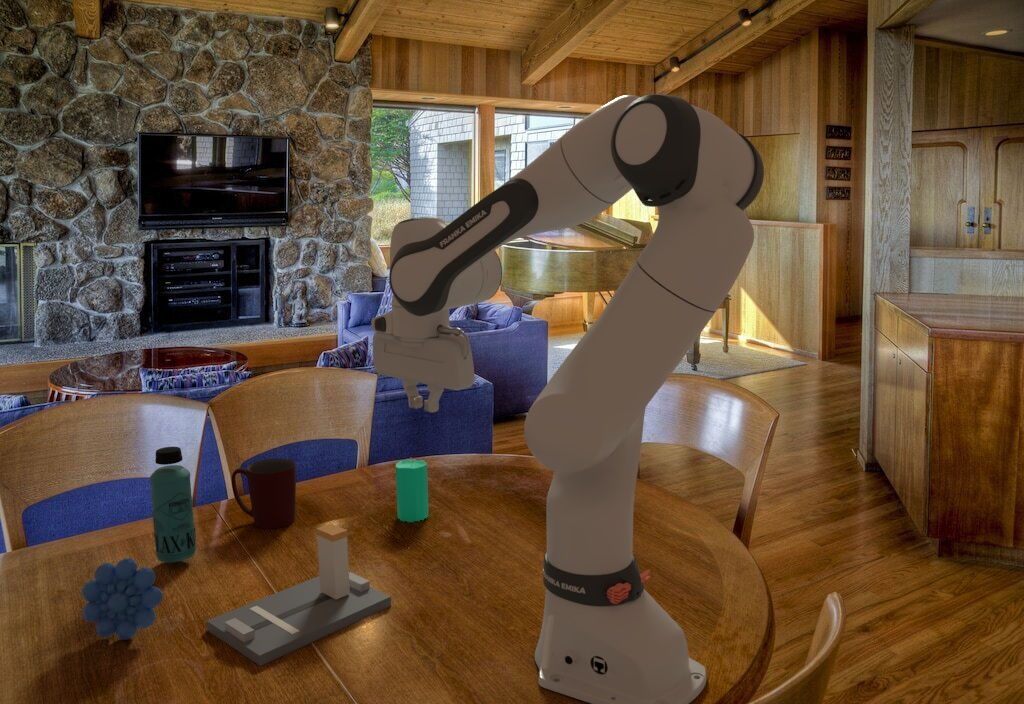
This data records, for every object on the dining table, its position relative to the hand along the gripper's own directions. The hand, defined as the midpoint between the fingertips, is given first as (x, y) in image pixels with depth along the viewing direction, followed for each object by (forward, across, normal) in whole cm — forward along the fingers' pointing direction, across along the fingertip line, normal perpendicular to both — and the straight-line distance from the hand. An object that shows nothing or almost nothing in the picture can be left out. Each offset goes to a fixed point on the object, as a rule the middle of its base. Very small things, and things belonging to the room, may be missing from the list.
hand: (423, 409), depth 135 cm
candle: (+27, +20, -14) cm, 37 cm away
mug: (+27, +39, +6) cm, 48 cm away
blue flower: (+27, +16, +42) cm, 53 cm away
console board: (+27, +2, +23) cm, 36 cm away
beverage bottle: (+27, +34, +26) cm, 51 cm away
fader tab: (+25, +2, +17) cm, 31 cm away
